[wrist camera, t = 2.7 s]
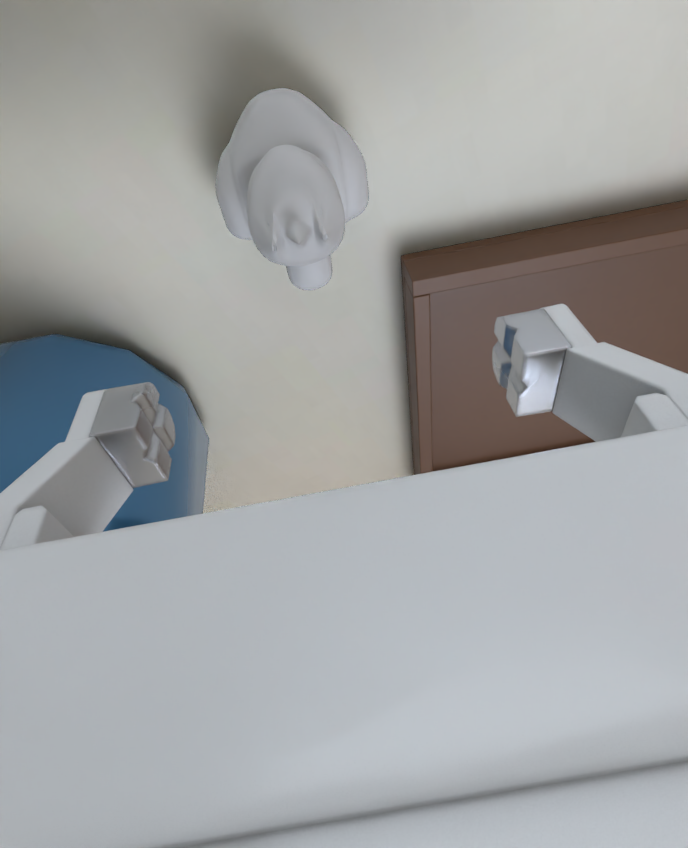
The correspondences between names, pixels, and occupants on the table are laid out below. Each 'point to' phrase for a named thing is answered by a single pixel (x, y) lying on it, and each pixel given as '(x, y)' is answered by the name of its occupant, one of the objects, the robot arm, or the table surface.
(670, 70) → the table surface
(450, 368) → the serving tray
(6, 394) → the wine bottle
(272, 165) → the rubber duck
